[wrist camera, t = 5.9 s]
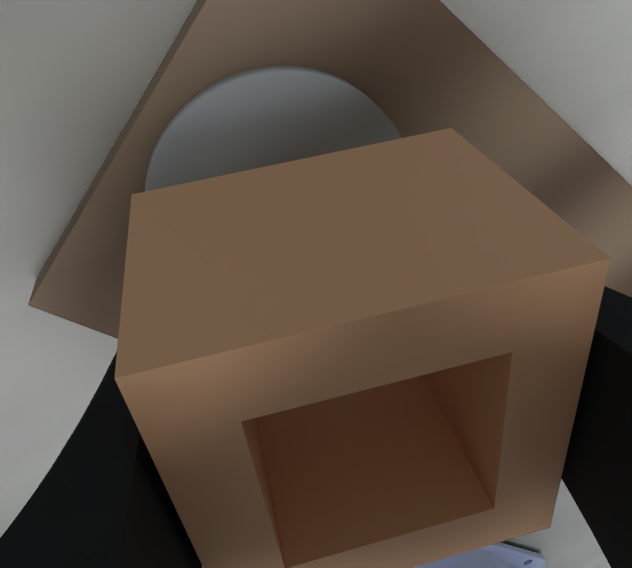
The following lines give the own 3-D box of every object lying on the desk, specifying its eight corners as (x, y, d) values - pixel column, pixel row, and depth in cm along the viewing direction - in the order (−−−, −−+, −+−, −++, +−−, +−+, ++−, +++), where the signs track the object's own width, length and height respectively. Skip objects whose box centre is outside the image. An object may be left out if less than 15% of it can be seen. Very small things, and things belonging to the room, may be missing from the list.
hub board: (712, 271, 22) (850, 366, 18) (497, 462, 26) (565, 577, 22) (280, -141, 12) (351, -158, 7) (36, 280, 16) (-11, 429, 12)
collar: (451, 127, 10) (610, 258, 6) (446, 357, 13) (549, 527, 10) (131, 194, 9) (114, 379, 6) (209, 417, 13) (229, 622, 9)
